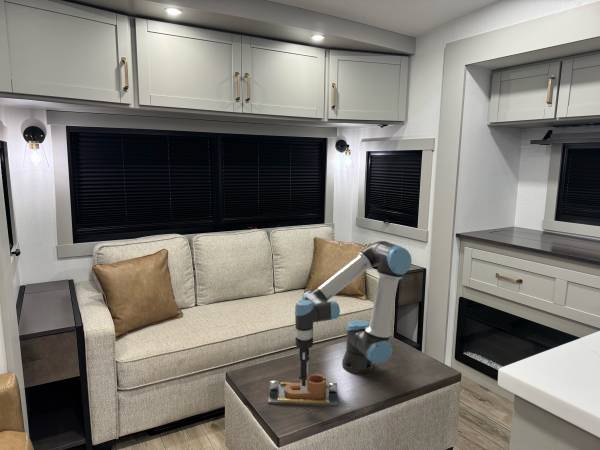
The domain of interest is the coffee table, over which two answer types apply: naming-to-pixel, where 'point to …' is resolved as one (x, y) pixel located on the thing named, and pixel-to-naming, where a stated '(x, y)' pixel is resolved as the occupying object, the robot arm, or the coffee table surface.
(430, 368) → the coffee table surface
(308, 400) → the coupling bench
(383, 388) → the coffee table surface
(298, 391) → the bracket
